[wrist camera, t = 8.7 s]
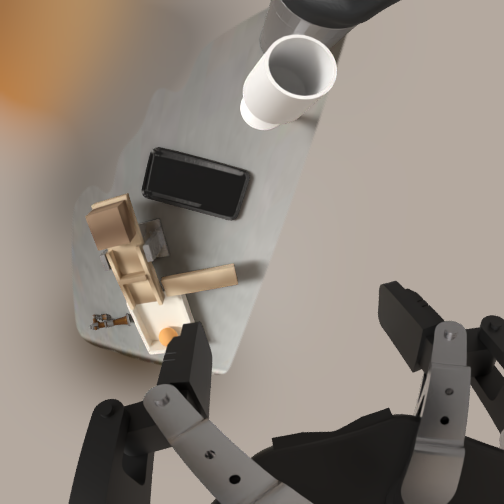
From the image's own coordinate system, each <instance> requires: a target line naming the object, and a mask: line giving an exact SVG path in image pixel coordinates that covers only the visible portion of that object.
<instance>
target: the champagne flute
mask: <svg viewBox="0 0 504 504" xmlns="http://www.w3.org/2000/svg"><path fill="white" fill-rule="evenodd" d="M336 75H337V66H336V61H335V59H334V57H333V55H332V53H331V52H330V50H329V49H328V48H327V47H326V46H325V45H324V44H322V43H321V42H320V41H318V40H316V39H314V38H312V37H309V36H306V35H288V36H284V37H282V38H280V39H278V40H277V41H275V42H274V43H273V44H272V45H271V46H270V47H269V49H268V50H267V51H266V52H265V54H264V55H263V56H262V58H261V59H260V60H259V62H258V63H257V64H256V66H255V67H254V68H253V70H252V71H251V73H250V74H249V75H248V77H247V79H246V81H245V83H244V87H243V99H242V101H241V106H240V110H241V114H242V117H243V119H244V120H245V122H246V123H247V124H248V125H250V126H251V127H253V128H256V129H259V130H269V129H272V128H275V127H277V126H278V125H280V124H287V123H290V122H292V121H294V120H296V119H298V118H299V117H300V116H301V115H302V114H303V113H305V112H306V111H307V110H308V109H309V108H310V107H311V106H312V105H313V104H314V103H315V102H317V101H318V100H319V99H320V98H321V97H322V96H323V95H324V94H325V93H327V92H328V91H329V90H330V89H331V87H332V86H333V84H334V82H335V80H336Z"/></svg>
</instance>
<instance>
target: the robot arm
mask: <svg viewBox="0 0 504 504" xmlns="http://www.w3.org/2000/svg"><path fill="white" fill-rule="evenodd" d="M398 1H400V0H271V2H270V5H269V8H268V12H267V15H266V19H265V22H264V26H263V29H262V33H261V37H260V44H261V48H262V50H263V52H264V54H265V52H266V51H267V50H268V49H269V47H270V46H271V45H272V44H273V43H274V42H275V41H277V40H278V39H280V38H282V37H284V36H288V35H306V36H309V37H312V38H314V39H316V40H318V41H320V42H321V43H322V44H324V45H325V46H326V47H327V48H328V49H330V48H331V47H332V46H333V45H335V44H336V43H337V42H338V41H339V40H340V39H341V38H343V37H344V36H345V35H346V34H347V33H349V32H350V31H351V30H352V29H353V28H354V27H356V26H357V25H358V24H360V23H363V22H365V21H367V20H369V19H370V18H372V17H373V16H375V15H376V14H377V13H379V12H381V11H382V10H384V9H386V8H387V7H389V6H391V5H392V4H395V3H396V2H398ZM378 317H379V322H380V324H381V326H382V328H383V329H384V331H385V332H386V333H387V335H388V336H389V337H390V339H391V341H392V342H393V344H394V345H395V346H396V348H397V349H398V351H399V352H400V354H401V355H402V357H403V358H404V360H405V361H406V363H407V364H408V366H409V367H410V369H411V371H412V372H416V371H418V370H420V369H422V370H423V371H424V374H423V377H422V382H421V386H420V391H419V396H418V400H417V404H416V407H415V411H414V414H413V415H404V414H396V415H392V414H391V411H390V409H389V408H386V409H384V410H381V411H378V412H375V413H372V414H369V415H366V416H363V417H361V418H359V419H357V420H355V421H354V422H352V423H350V424H348V425H347V426H344V427H342V428H341V429H339V430H336V431H332V432H301V433H297V434H292V435H286V436H280V437H275V438H272V442H273V446H271V447H269V448H266V449H264V450H262V451H260V452H259V453H257V454H255V455H254V456H253V457H252V458H250V457H248V456H247V455H246V454H245V453H244V452H243V451H242V450H240V449H239V448H238V447H237V446H236V445H235V444H234V443H233V442H232V441H231V440H229V438H228V437H226V436H225V435H224V434H223V433H222V432H221V431H220V430H219V429H218V428H217V427H216V426H215V425H214V424H213V423H212V422H211V421H210V420H209V404H210V388H211V373H212V353H211V349H210V346H209V343H208V340H207V338H206V335H205V332H204V329H203V326H202V324H201V322H194V323H187V324H183V326H182V330H181V334H180V336H175V337H173V338H172V340H171V341H170V342H169V343H168V345H167V348H166V352H165V355H164V359H163V361H164V362H163V363H162V367H161V371H160V374H159V378H158V382H157V386H155V387H153V388H151V389H150V390H149V391H148V392H147V393H146V394H145V396H144V399H143V401H141V402H138V403H135V404H131V405H128V406H123V404H122V403H121V402H119V401H118V400H116V399H108V400H105V401H103V402H101V403H100V404H98V405H97V406H96V407H95V409H94V411H93V413H92V416H91V420H90V423H89V426H88V429H87V433H86V436H85V439H84V443H83V446H82V450H81V454H80V457H79V461H78V465H77V469H76V473H75V477H74V482H73V486H72V490H71V494H70V499H69V504H150V496H151V483H152V471H153V461H154V452H155V451H159V450H162V449H166V448H169V447H173V448H174V450H175V451H176V452H177V454H178V455H179V456H180V458H181V459H182V460H183V461H184V463H185V464H186V465H187V466H188V467H189V469H190V470H191V471H192V472H193V473H194V475H195V476H196V477H197V478H198V479H199V480H200V482H201V483H202V484H203V485H204V486H205V487H206V488H207V489H208V490H209V491H210V493H211V494H212V495H213V496H214V497H215V498H216V499H215V500H214V501H213V502H212V503H211V504H504V377H503V376H502V375H501V373H500V372H499V371H498V369H497V368H496V367H495V365H494V364H495V362H496V360H497V361H498V362H499V364H500V365H501V366H502V367H503V369H504V319H502V318H500V317H498V316H493V315H490V316H486V317H485V318H483V319H482V322H481V325H480V327H479V328H472V329H465V328H464V327H463V326H462V325H461V324H459V323H457V322H454V321H444V320H443V319H442V318H441V317H440V316H439V315H438V314H437V313H436V312H435V310H434V309H433V308H432V307H431V306H430V305H429V306H428V303H427V302H426V301H425V300H423V298H422V297H421V296H420V295H419V294H417V293H416V292H414V291H412V290H410V289H404V288H403V287H402V286H401V285H400V284H399V283H398V282H397V281H393V282H390V283H386V284H382V285H380V288H379V306H378ZM470 385H471V386H472V388H473V389H474V391H475V392H476V394H477V395H478V397H479V399H480V400H481V402H482V403H483V405H484V407H485V408H486V410H487V411H488V413H489V415H490V417H491V418H492V420H493V422H494V423H495V425H496V427H497V429H498V430H499V432H500V434H501V435H500V447H499V448H497V447H494V446H491V445H488V444H485V443H483V442H480V441H477V440H475V439H472V438H469V437H467V436H465V432H466V425H467V417H468V407H469V396H470Z"/></svg>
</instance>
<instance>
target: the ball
mask: <svg viewBox="0 0 504 504" xmlns="http://www.w3.org/2000/svg"><path fill="white" fill-rule="evenodd" d="M175 336H178V334H177V332H176V331H175V330H174V329H172V328H164V329H162V330H161V331H160V333H159V341H160V343H161V344H162V345H164V346H166V347H167V345H168V343H169V342H170V341H171V340H172V338H173V337H175Z"/></svg>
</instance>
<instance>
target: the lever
mask: <svg viewBox="0 0 504 504" xmlns="http://www.w3.org/2000/svg"><path fill="white" fill-rule="evenodd" d="M92 209H93V210H92V211H91V212H90V213H89V214H88V215H87V216H85V217H86V220H87V223H88V225H89V228H90V230H91V233H92V236H93V238H94V241H95V243H96V246H97V248H98V250H103V249H108V252H107V253H106V256H107V259H108V261H109V263H110V266H111V268H112V270H113V273H114V275H115V277H116V279H117V281H118V284H119V286H120V288H121V290H122V292H123V294H124V296H125V298H126V301H127V303H128V305H129V307H130V309H131V310H133V309H135V306H136V305H137V304H143V303H150V302H156V301H157V302H158V304H159V305H163V302H164V299H165V294H164V292H163V290H162V287H161V285H160V282H159V280H158V277H157V275H156V272H155V269H154V267H153V264H152V262H147V259H146V255H145V252H144V249H143V245H144V244H145V242H144V240H143V237H142V234H141V231H140V228H139V225H138V222H137V219H136V216H135V213H134V210H133V207H132V204H131V201H130V198H129V194H128V193H127V194H124V195H121V196H117V197H114V198H111V199H107V200H104V201H101V202H98V203H95V204H93V205H92ZM161 283H162V285H163V288H164V290H165V292H166V295H167V297H170V296H175V295H181V294H187V293H193V292H199V291H204V290H210V289H215V288H221V287H226V286H232V285H237V284H238V280H237V275H236V271H235V267H234V263H233V264H228V265H223V266H218V267H213V268H207V269H202V270H197V271H192V272H186V273H181V274H176V275H170V276H165V277H162V279H161Z"/></svg>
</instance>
